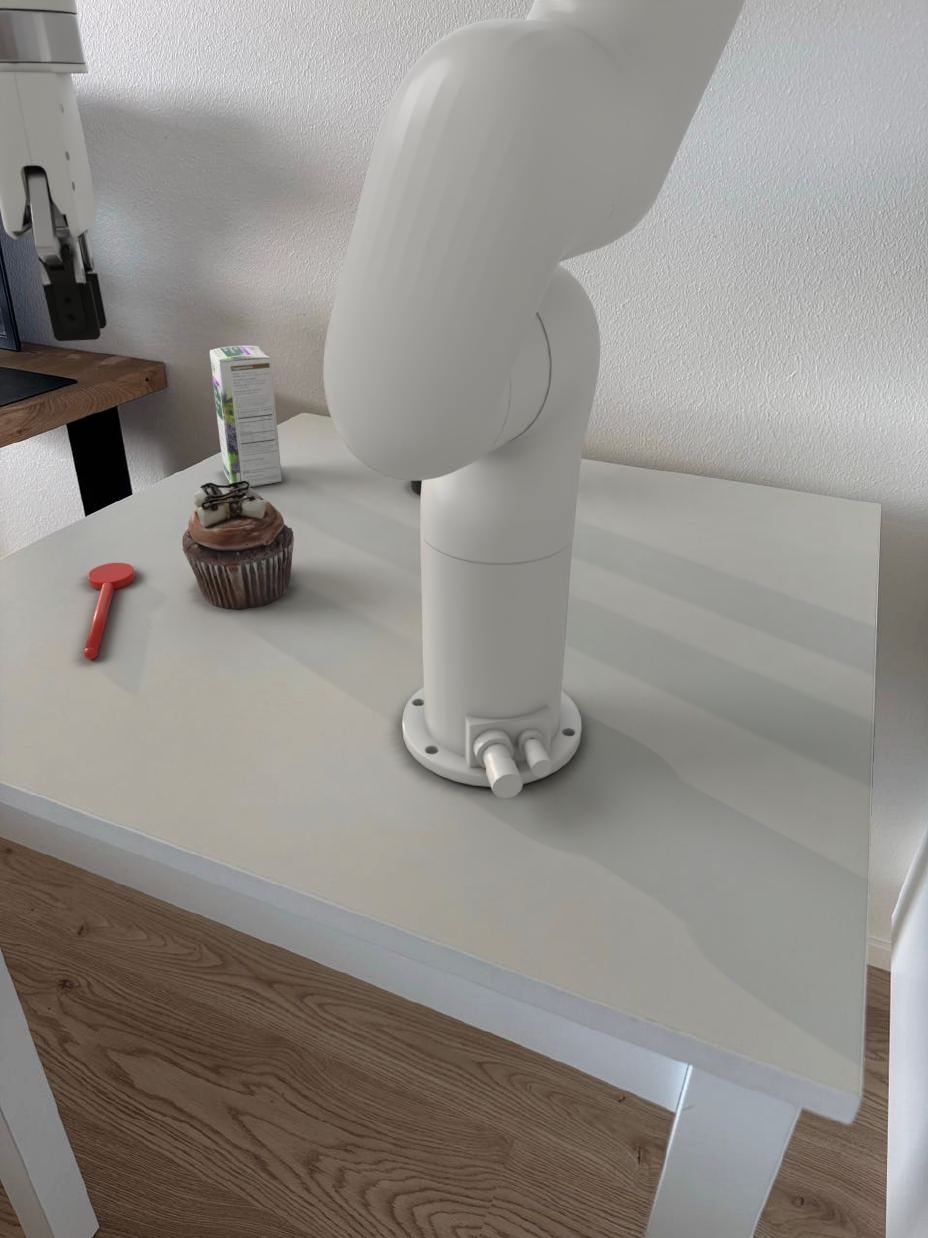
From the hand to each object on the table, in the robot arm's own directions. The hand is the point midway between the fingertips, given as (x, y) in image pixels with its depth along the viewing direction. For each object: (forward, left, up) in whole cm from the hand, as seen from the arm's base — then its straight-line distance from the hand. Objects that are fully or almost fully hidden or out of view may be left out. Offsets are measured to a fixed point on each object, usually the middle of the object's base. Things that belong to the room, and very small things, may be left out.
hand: (81, 331), depth 69 cm
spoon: (-1, +3, -23) cm, 23 cm away
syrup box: (+27, -10, -23) cm, 37 cm away
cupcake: (0, -9, -23) cm, 25 cm away
